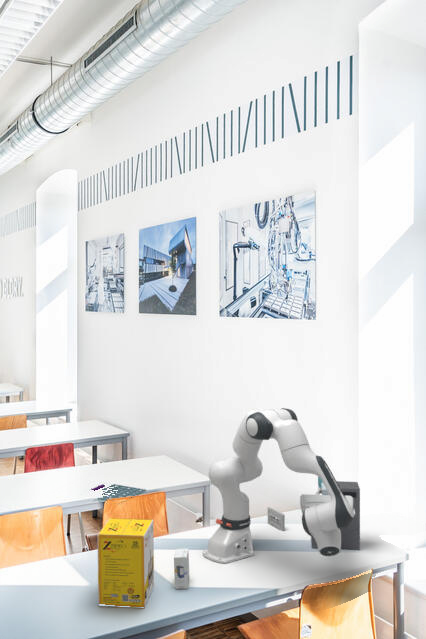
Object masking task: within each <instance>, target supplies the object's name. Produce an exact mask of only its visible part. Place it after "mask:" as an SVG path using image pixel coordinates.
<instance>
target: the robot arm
mask: <svg viewBox="0 0 426 639" xmlns="http://www.w3.org/2000/svg"><path fill="white" fill-rule="evenodd" d="M270 439H273V440H275V441H276V443H277V445H278V448H279V450H280V451H279V452H280V454H281V458H282V461H283V463H284V465H285V466H286V467H287V469H289V470H290V471H292V472H295V473H299V474H312V475H315V476H317V478H318V477H320V478H321V480H322V482H323V483H324V485H325V487H326V489H327V491H328V493H329V495H322V488H321V487H317V491H316V492H315V494H306V493H305V494H302V493H301V495H300V496H299V502H300V503H299V504H300V510H301V514H302V516H301V525H302V528H303V529H304V532H305V533H306V534H307V535H308V536H309V537H310V538H311V537H312V538H314V539H315V541H316V543H317V546H318V549H317V550H318V554H320V555H322V556H324V557H333V556H336V555H337V554H339V553H340V552H341V550H340V549H341V531H340V529H341V528H347V527H349V526H350V525H351V523H352V522H353V519H354V516H355V509H354V508H353V497H351V496H344V494H343V493H342V491H341V489H340V487H339V485H338V483H337V481H338V480H336V478H335V476H334V474H333V472H332V470H331V468H330V466H328V463H327V462H326V461H325V460H324V458H323V457H322V456H320V455H317V454H316V453H315V452H314V451H313V450H312V448H311V446H310V443H309V440H308V438H307V435H306V433H305V431H304V429H303V427H302V425H301V424H300V422H299V421H298V416H297V414H296V413H295V411H294V410H292V409H289V408H285V407H283V408H271V409H268V410H267V409H266V410H263V411H261V410H257V409H251V410H249V411H248V412H247V413H246V414H245V415H244V417H243V419H242V420H241V422H240V424H239V427H238V428H237V431H236V433H235V436H234V439H233V441H232V450H233V452H234V453H235V456H233V457H230V458H225V459H221V460H217V461H216V462H214V463H212V464H211V465H210V467H209V469H208V479H209V481H210V483H211V484H212V485H213V486H214V487H216V488H217V490H218V491H219V492H220V495H221V498H222V516H221V519H220V518H216V520H215V523H216V524H218V525H219V527H218V528H217V529H216V531H215V532H214V533H213V534H212V535H211V537H210V538H209V540H208V546H207V548H206V549H204V550H203V551H202V556H203V557H204V558H206V559H208V560H210V561H213V562H216V563H220V564H228V563H232V562H235V561H239V560H242V559H246V558H249V557H252V556H254V555H255V551H254V546H253V540H252V534H251V533H252V532H251V528H250V527H251V523H252V522H251V521H252V520H251V515H250V498H249V496H248V495H247V494H246V493H245V492H243V491H241V488H240V484H244V483H248V482H251V481H253V480H256V479H257V478H259V477H260V476H261V475H262V474H263V473H262V472H263V463H262V460H261V459H260V458H259V456H258V455H259V451H260V448H261V446H262V444H263V441H268V440H270Z"/></svg>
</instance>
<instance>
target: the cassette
mask: <svg viewBox="0 0 426 639" xmlns="http://www.w3.org/2000/svg"><path fill="white" fill-rule="evenodd" d="M285 518H286V516H285V513H282V512H280V511H278V510H276V509H274V508H273V507H269V506H268V507H267V524H268V525H270V526H271V527H273V528H275V529H277V530H279V531H282V532H285V530H286V529H285V523H286V522H285V520H286V519H285Z"/></svg>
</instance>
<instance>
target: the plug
mask: <svg viewBox="0 0 426 639" xmlns="http://www.w3.org/2000/svg"><path fill="white" fill-rule="evenodd" d="M317 486H318V487H321V488H322V494H321V495H329V493H328V491H327V489H326V487H325V485H324V483H323V482H322V480H321V478H320V477H318V476H317ZM318 487H317V488H318Z"/></svg>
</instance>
